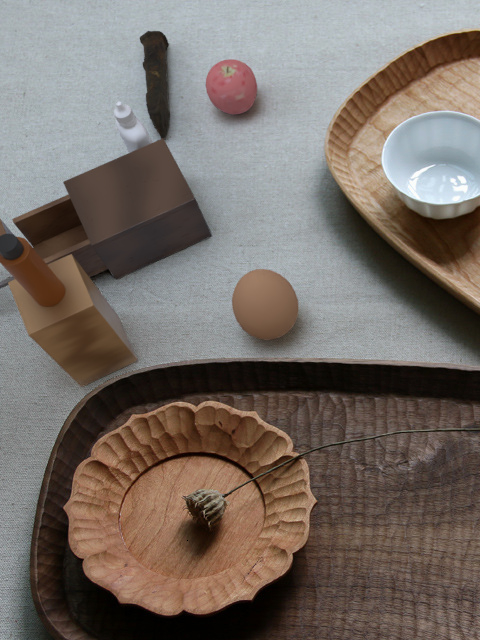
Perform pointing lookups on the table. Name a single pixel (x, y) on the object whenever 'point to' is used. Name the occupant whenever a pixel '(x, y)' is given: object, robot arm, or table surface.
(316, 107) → the table surface
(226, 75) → the apple
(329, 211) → the table surface
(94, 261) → the drawer
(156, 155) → the cabinet
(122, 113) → the eye dropper bottle
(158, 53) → the hand tool
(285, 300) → the egg
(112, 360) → the block
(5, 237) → the amber bottle
